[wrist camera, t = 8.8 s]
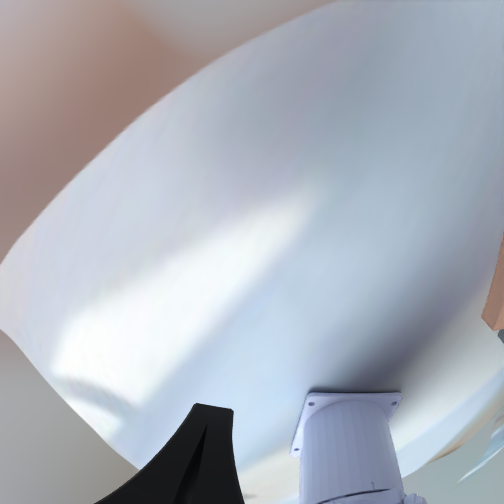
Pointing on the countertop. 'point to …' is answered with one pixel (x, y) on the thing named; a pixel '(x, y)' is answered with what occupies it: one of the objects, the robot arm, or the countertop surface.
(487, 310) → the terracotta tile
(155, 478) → the robot arm
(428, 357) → the countertop surface
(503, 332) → the low gray notched block
